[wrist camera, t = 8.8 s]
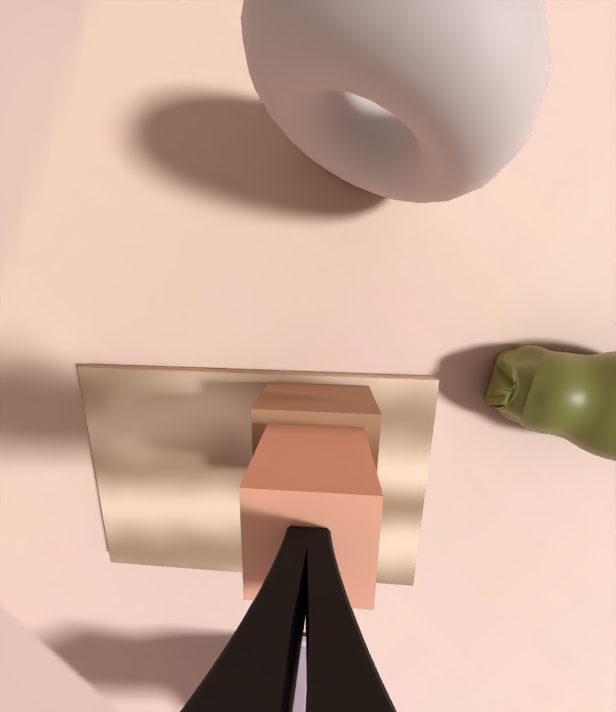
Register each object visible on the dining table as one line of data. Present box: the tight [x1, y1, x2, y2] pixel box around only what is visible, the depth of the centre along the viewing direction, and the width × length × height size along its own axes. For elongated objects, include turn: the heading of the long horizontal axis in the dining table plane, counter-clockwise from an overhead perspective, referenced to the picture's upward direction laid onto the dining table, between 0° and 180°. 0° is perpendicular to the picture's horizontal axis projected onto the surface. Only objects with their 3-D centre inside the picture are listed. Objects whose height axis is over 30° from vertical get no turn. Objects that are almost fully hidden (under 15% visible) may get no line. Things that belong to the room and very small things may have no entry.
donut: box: [241, 0, 550, 203], centre depth 10 cm, size 10×3×10 cm, turn 66°
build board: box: [77, 364, 439, 586], centre depth 19 cm, size 15×22×1 cm
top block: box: [239, 423, 383, 610], centre depth 12 cm, size 4×4×4 cm
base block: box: [251, 382, 382, 471], centre depth 16 cm, size 6×6×4 cm
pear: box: [484, 345, 616, 461], centre depth 15 cm, size 6×5×10 cm
